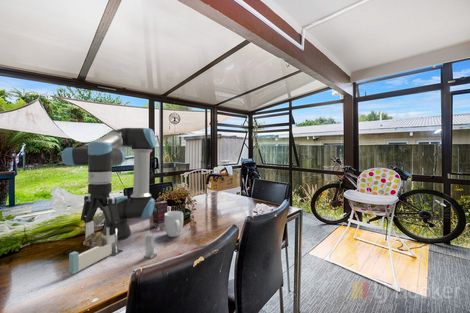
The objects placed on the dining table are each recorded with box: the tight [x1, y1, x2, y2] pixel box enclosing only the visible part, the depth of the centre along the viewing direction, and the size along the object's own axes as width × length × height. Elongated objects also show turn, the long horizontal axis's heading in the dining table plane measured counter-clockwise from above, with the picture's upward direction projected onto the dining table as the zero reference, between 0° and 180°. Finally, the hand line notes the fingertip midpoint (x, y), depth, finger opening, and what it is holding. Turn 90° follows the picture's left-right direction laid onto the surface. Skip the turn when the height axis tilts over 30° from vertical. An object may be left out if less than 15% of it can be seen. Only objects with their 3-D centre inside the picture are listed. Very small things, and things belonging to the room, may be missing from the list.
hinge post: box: [109, 228, 124, 257], centre depth 102 cm, size 5×5×12 cm
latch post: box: [143, 235, 157, 260], centre depth 99 cm, size 4×4×10 cm
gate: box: [68, 243, 112, 275], centre depth 92 cm, size 18×2×8 cm, turn 161°
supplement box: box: [152, 200, 168, 228], centre depth 141 cm, size 9×5×16 cm, turn 146°
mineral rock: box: [82, 231, 106, 248], centre depth 77 cm, size 11×4×8 cm
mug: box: [164, 210, 184, 238], centre depth 124 cm, size 15×11×13 cm
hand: (99, 241), depth 78 cm, fingers closed on mineral rock, 10 cm apart
